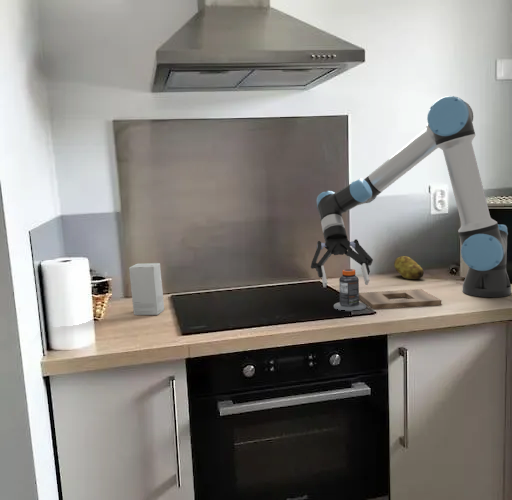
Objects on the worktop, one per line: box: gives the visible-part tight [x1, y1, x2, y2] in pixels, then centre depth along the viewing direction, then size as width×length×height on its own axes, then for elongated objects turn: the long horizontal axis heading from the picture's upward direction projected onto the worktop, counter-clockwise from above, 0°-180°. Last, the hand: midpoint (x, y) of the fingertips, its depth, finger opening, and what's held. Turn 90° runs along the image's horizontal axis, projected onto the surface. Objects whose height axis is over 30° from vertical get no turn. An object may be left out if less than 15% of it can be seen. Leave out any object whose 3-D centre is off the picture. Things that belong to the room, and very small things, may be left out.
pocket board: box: [359, 288, 442, 310], centre depth 182 cm, size 22×16×2 cm
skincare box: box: [128, 262, 165, 316], centre depth 178 cm, size 8×7×16 cm
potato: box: [393, 255, 425, 280], centre depth 217 cm, size 8×13×8 cm, turn 10°
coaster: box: [333, 301, 367, 312], centre depth 177 cm, size 10×10×1 cm
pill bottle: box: [338, 268, 360, 307], centre depth 176 cm, size 6×6×11 cm
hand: (346, 283), depth 178 cm, fingers open, 13 cm apart
